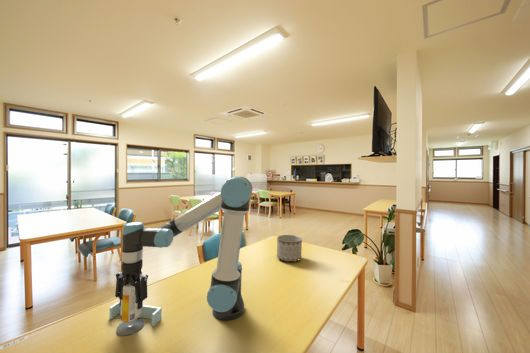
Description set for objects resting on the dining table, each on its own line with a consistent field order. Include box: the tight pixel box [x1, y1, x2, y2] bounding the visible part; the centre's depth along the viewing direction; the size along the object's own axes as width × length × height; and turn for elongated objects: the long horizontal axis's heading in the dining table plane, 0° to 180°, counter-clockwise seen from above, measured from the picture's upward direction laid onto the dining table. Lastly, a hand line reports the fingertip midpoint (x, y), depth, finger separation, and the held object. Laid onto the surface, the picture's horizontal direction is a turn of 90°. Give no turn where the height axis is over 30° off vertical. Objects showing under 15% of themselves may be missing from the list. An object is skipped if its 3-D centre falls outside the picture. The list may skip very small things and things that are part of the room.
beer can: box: [121, 282, 140, 323], centre depth 91 cm, size 6×6×15 cm
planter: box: [276, 234, 303, 262], centre depth 172 cm, size 19×19×16 cm
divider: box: [108, 300, 163, 327], centre depth 96 cm, size 22×5×5 cm, turn 80°
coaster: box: [115, 317, 145, 337], centre depth 91 cm, size 10×10×1 cm
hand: (130, 314), depth 91 cm, fingers closed on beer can, 6 cm apart
